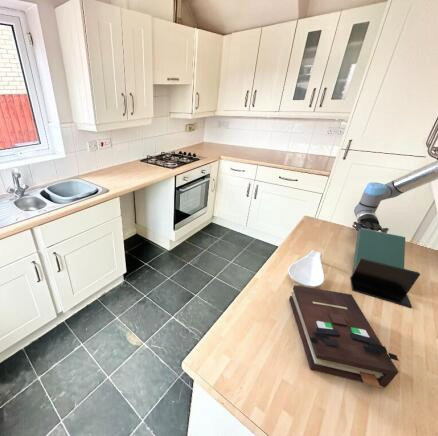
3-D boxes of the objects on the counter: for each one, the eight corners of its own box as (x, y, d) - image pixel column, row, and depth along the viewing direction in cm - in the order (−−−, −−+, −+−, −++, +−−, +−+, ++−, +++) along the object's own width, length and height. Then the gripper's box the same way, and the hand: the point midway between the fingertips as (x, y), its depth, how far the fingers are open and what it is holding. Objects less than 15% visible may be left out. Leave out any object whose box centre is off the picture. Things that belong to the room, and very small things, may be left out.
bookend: (404, 293, 87) (419, 272, 82) (411, 308, 82) (426, 286, 77) (349, 278, 95) (360, 257, 90) (352, 290, 89) (363, 269, 84)
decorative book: (353, 288, 80) (413, 382, 55) (345, 304, 84) (397, 399, 58) (289, 278, 85) (317, 360, 59) (283, 293, 88) (307, 377, 63)
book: (401, 239, 97) (405, 236, 95) (398, 286, 90) (403, 284, 88) (357, 230, 104) (360, 227, 101) (352, 273, 97) (355, 271, 94)
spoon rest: (317, 297, 86) (323, 282, 83) (281, 282, 93) (286, 268, 90) (329, 265, 102) (335, 251, 98) (298, 254, 109) (302, 240, 105)
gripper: (381, 230, 117) (392, 256, 99) (347, 224, 123) (353, 247, 105) (388, 217, 113) (401, 241, 96) (353, 210, 119) (360, 232, 102)
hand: (376, 244), depth 100 cm, fingers closed
